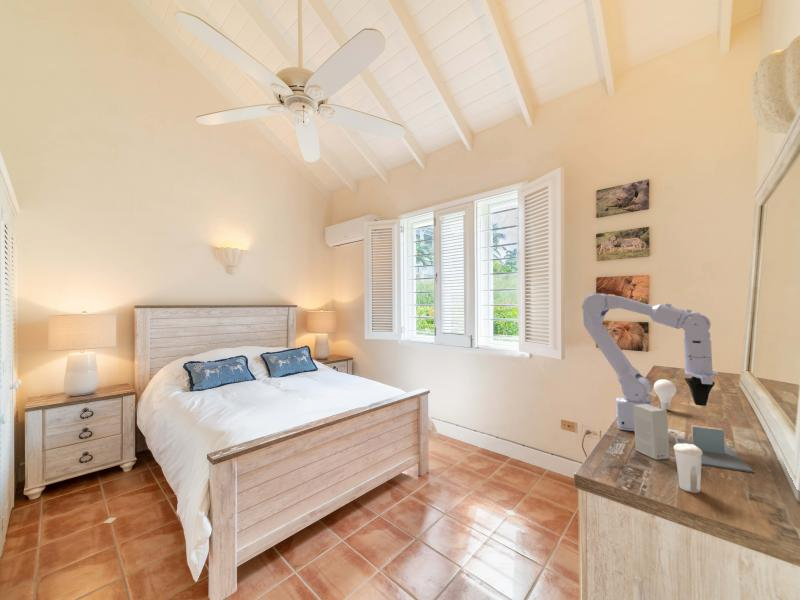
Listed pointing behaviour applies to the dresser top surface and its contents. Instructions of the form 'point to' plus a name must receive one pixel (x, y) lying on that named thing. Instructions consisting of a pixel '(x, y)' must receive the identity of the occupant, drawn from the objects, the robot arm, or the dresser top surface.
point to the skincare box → (651, 431)
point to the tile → (708, 439)
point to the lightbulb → (665, 392)
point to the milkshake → (688, 466)
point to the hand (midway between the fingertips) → (700, 404)
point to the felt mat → (721, 459)
